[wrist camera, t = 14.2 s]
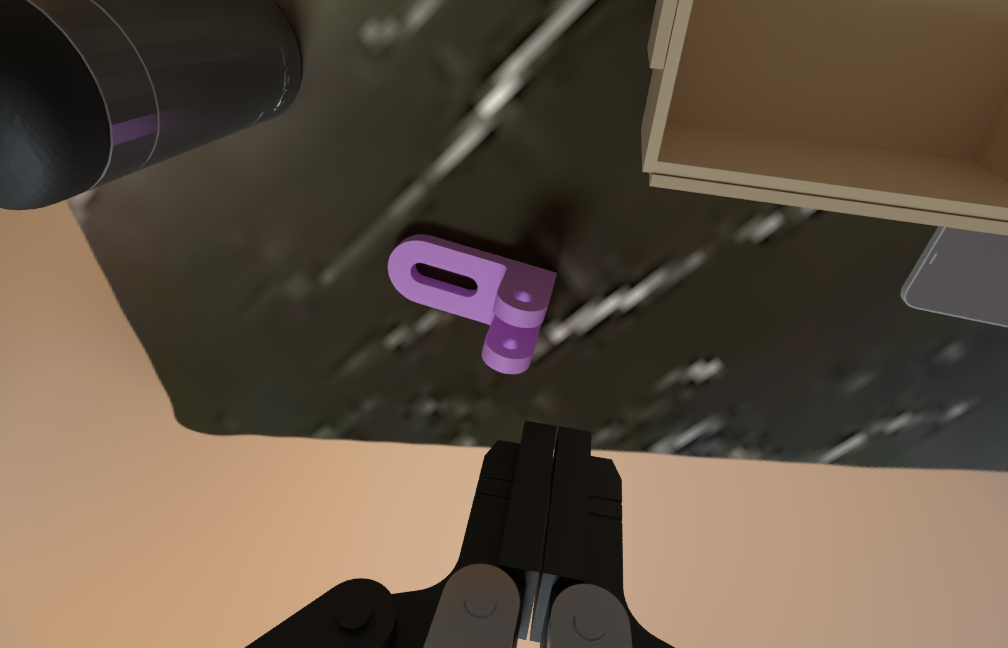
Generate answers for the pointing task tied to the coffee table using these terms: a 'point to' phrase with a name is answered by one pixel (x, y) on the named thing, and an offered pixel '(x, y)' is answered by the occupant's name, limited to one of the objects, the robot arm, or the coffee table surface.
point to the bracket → (479, 294)
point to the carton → (834, 106)
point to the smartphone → (962, 276)
